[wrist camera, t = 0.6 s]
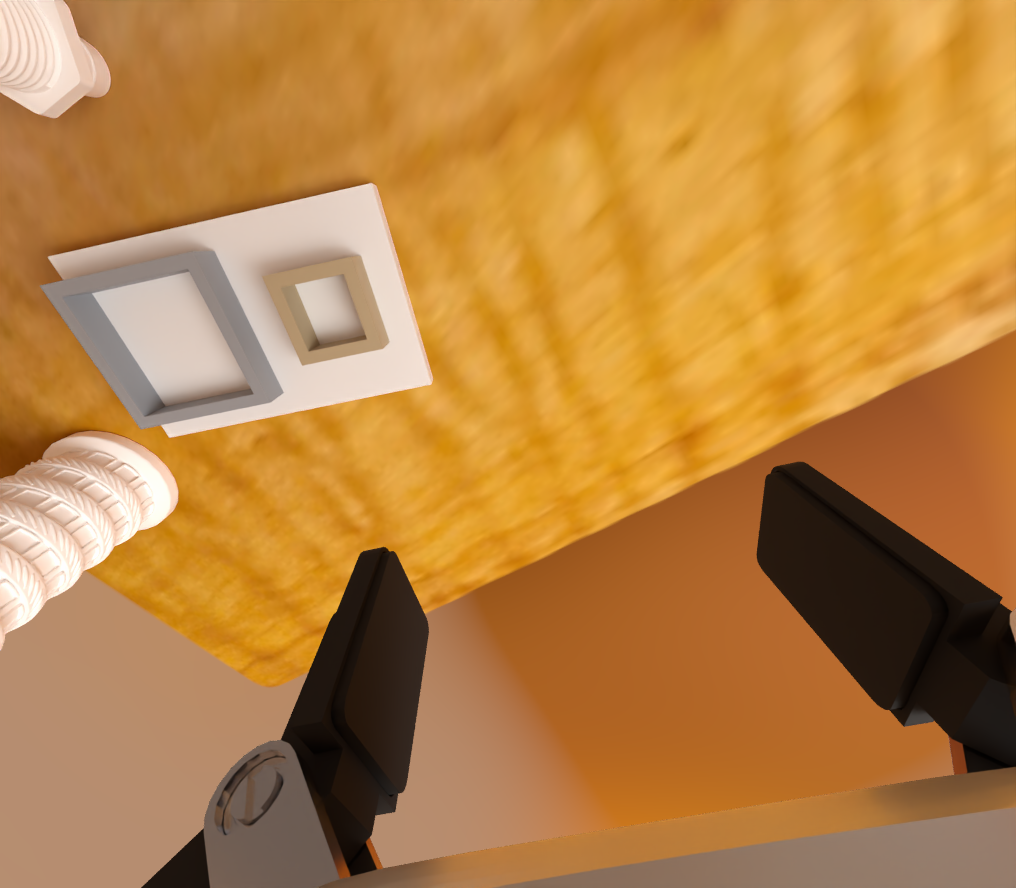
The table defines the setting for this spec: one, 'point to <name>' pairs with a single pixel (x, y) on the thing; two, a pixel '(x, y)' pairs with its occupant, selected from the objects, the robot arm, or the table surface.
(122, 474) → the white carved column
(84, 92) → the pipe fitting
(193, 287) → the board
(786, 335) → the table surface
